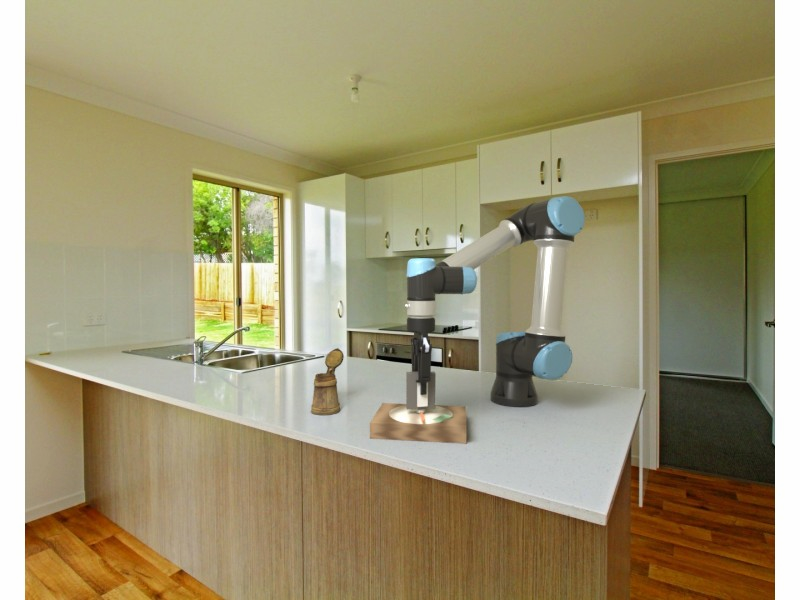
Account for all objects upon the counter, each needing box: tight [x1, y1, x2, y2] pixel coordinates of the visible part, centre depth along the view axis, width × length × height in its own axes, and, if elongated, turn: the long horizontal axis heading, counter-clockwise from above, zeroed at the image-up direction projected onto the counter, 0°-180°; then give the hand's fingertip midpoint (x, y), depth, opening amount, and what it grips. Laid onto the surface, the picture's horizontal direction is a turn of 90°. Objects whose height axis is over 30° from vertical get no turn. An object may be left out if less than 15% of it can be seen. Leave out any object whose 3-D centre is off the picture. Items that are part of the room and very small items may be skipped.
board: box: [369, 402, 467, 444], centre depth 116 cm, size 24×18×4 cm
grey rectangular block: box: [405, 371, 437, 422], centre depth 112 cm, size 8×10×11 cm
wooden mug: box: [310, 348, 345, 416], centre depth 134 cm, size 9×14×18 cm, turn 163°
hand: (420, 404), depth 116 cm, fingers closed on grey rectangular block, 3 cm apart
